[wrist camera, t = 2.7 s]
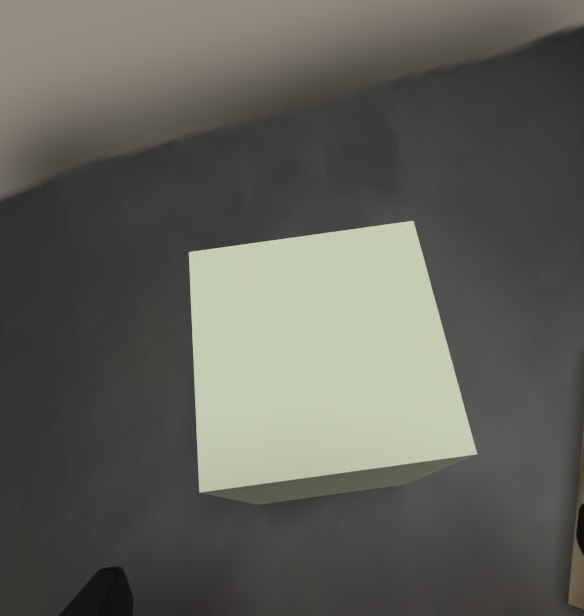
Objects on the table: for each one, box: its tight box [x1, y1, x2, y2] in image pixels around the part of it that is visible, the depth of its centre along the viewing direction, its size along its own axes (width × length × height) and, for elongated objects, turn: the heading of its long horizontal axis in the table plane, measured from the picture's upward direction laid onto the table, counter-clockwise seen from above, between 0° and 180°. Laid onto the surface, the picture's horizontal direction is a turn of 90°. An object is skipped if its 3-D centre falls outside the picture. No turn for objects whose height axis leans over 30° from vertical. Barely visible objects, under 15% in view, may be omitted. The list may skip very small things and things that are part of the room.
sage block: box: [189, 221, 477, 505], centre depth 16 cm, size 6×6×10 cm
